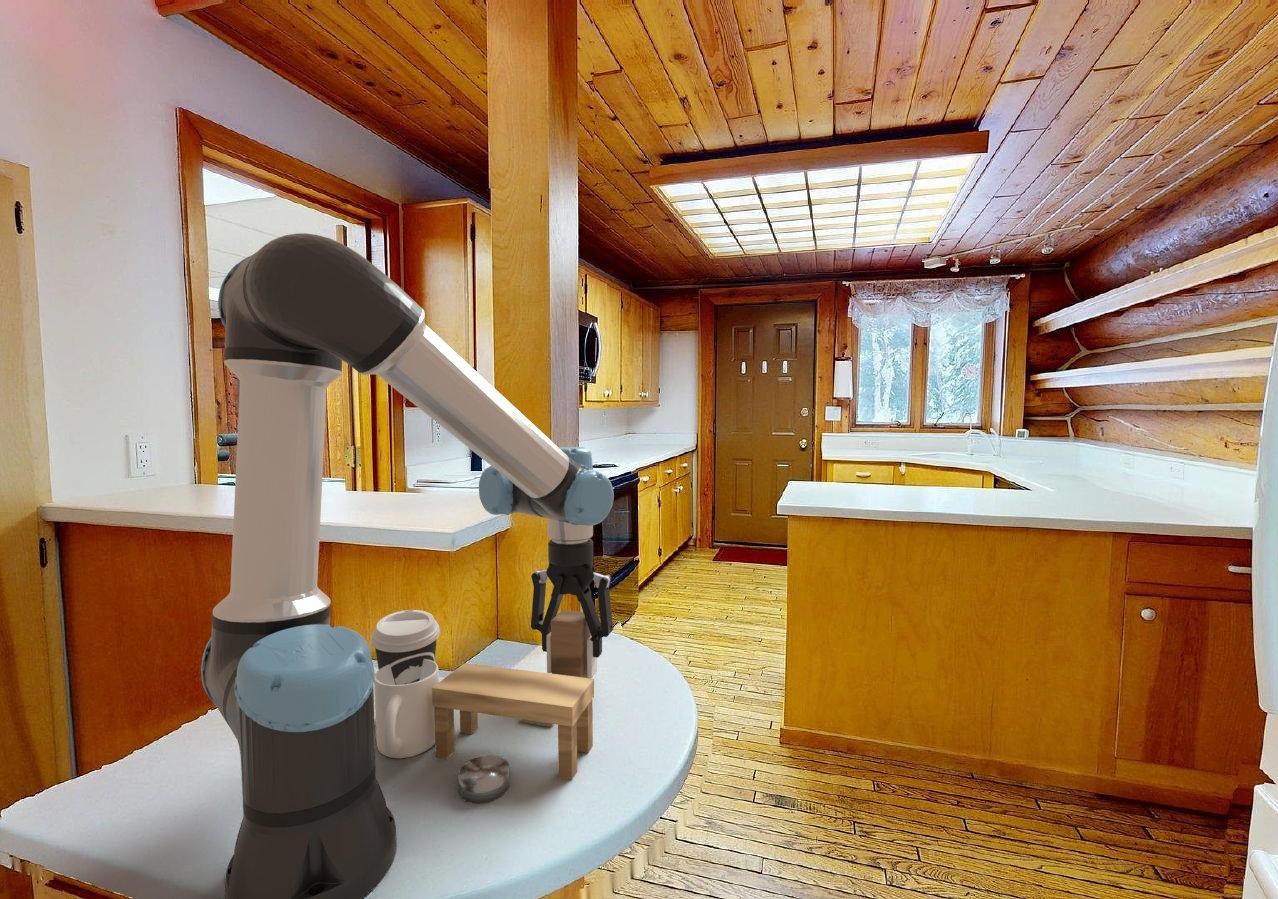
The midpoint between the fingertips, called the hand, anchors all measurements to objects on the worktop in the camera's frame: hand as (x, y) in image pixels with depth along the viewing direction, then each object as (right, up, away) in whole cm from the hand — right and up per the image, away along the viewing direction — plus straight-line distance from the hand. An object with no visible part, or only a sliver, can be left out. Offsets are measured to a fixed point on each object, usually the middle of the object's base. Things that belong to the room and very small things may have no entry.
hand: (572, 671), depth 100 cm
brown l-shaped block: (-1, -2, -5) cm, 6 cm away
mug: (-21, -3, -20) cm, 29 cm away
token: (-8, -4, -28) cm, 29 cm away
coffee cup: (-24, -2, -11) cm, 26 cm away
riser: (-5, -3, -20) cm, 21 cm away
